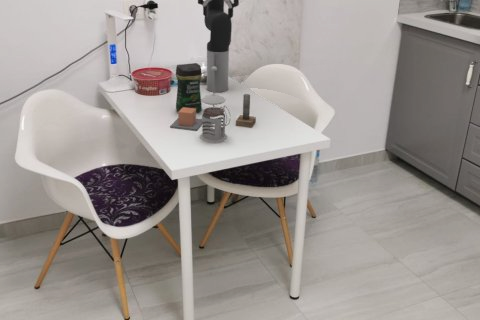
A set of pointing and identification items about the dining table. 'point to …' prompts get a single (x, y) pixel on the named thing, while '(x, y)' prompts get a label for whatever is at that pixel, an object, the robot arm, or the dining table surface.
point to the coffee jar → (188, 86)
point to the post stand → (246, 114)
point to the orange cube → (187, 116)
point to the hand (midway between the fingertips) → (218, 17)
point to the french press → (219, 132)
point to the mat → (194, 127)
